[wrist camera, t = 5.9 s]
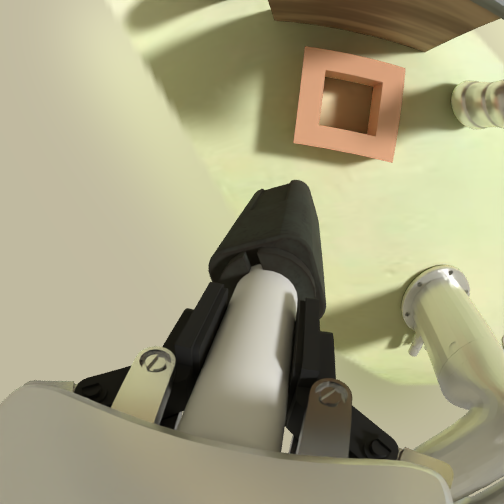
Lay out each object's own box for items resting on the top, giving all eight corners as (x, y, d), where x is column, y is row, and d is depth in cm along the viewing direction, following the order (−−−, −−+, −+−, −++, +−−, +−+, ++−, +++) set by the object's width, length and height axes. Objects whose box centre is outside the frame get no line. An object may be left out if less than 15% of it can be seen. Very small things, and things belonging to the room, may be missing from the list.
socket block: (381, 157, 35) (392, 162, 30) (294, 140, 36) (293, 143, 31) (393, 74, 30) (405, 68, 25) (304, 55, 31) (304, 46, 26)
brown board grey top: (429, 80, 29) (570, 57, 5) (263, 46, 31) (193, -60, 8) (431, 42, 26) (557, -13, 3) (268, 7, 28) (212, -119, 5)
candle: (266, 245, 27) (160, 559, 5) (248, 192, 26) (38, 499, 3) (321, 232, 26) (323, 583, 4) (305, 176, 24) (271, 583, 2)
